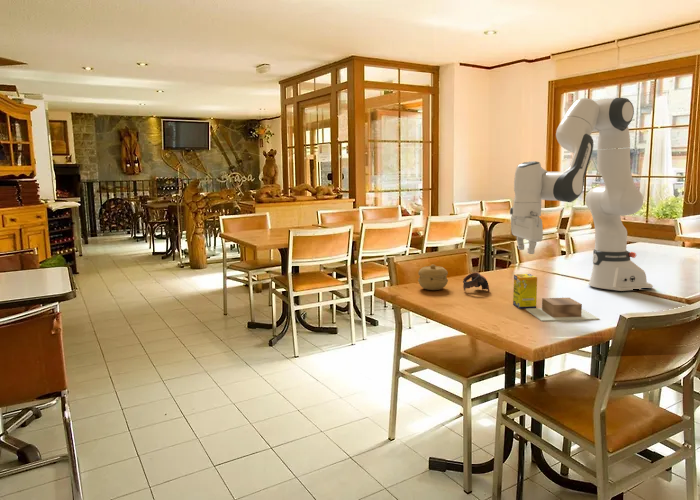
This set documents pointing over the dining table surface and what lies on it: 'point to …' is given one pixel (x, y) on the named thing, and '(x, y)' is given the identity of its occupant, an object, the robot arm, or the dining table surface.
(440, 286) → the pot
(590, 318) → the mat
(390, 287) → the dining table surface
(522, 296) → the supplement box
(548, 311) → the walnut slab
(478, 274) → the brown ceramic rounded piece
